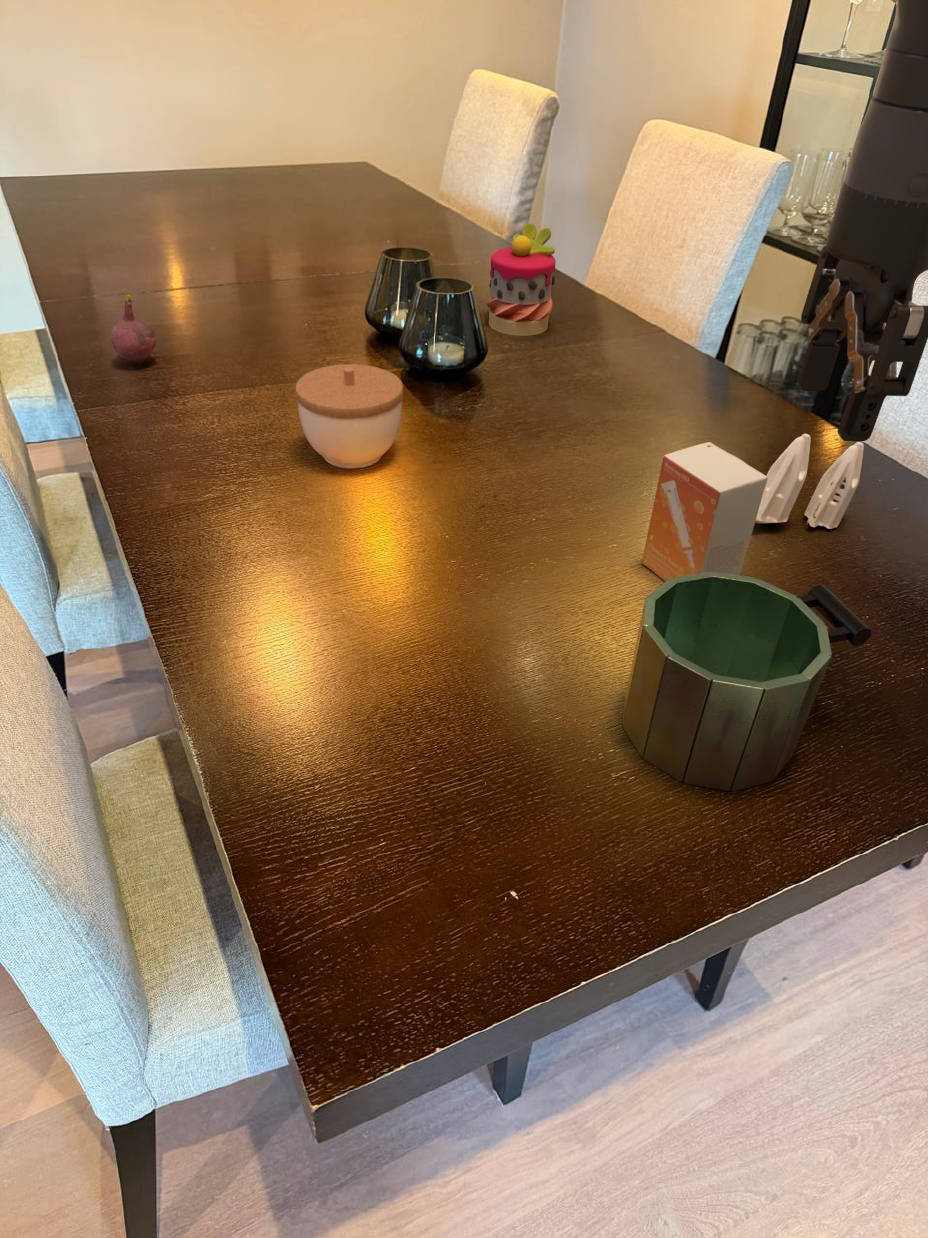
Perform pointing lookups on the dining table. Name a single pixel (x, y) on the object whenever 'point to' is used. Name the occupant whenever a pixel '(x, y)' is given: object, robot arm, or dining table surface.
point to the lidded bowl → (350, 412)
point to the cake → (522, 284)
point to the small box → (702, 513)
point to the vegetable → (133, 336)
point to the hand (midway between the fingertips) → (830, 412)
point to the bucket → (729, 676)
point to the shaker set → (828, 494)
